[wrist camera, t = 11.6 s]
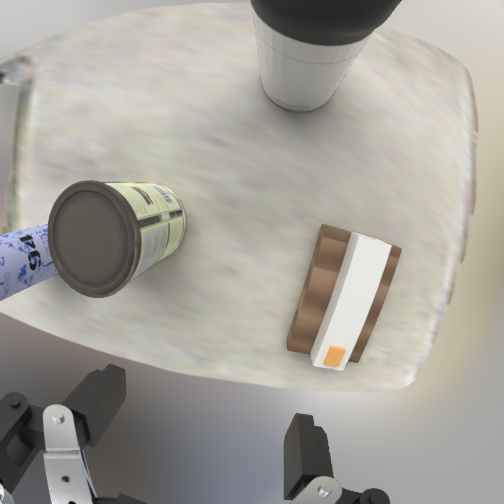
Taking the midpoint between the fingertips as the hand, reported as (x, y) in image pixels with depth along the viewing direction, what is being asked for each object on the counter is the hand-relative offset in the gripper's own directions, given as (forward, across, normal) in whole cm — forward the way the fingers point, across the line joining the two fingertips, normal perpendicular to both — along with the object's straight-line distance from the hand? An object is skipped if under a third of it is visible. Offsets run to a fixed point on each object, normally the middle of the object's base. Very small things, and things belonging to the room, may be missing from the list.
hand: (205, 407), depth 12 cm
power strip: (+24, -12, +1) cm, 27 cm away
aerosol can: (+25, +29, +4) cm, 38 cm away
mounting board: (+25, -12, +1) cm, 28 cm away
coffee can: (+25, +14, -2) cm, 29 cm away
